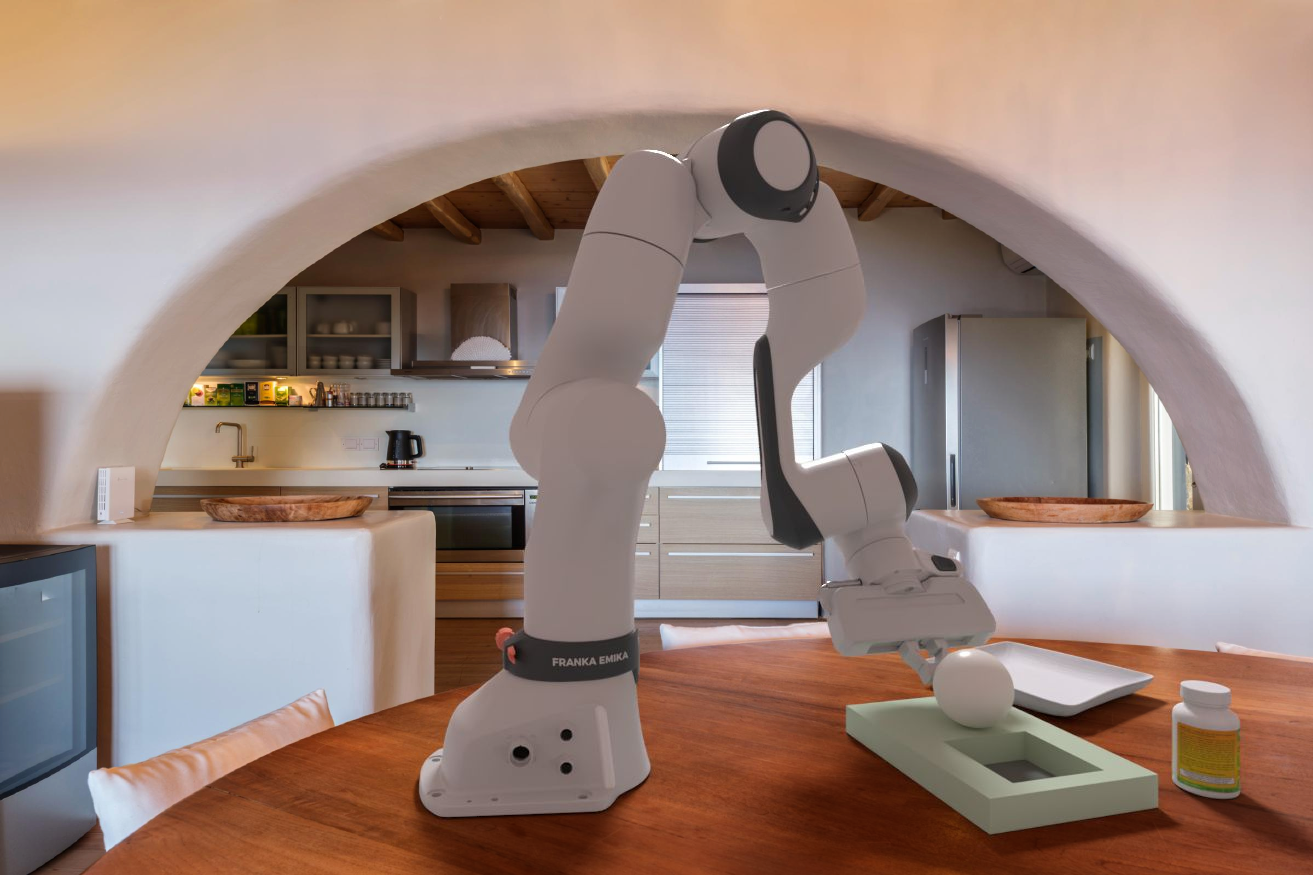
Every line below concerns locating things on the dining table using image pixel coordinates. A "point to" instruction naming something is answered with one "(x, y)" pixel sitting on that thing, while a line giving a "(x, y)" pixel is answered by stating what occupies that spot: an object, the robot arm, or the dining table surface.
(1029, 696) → the salad plate
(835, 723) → the dining table surface
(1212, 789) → the supplement bottle
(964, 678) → the ball
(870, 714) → the putting deck
